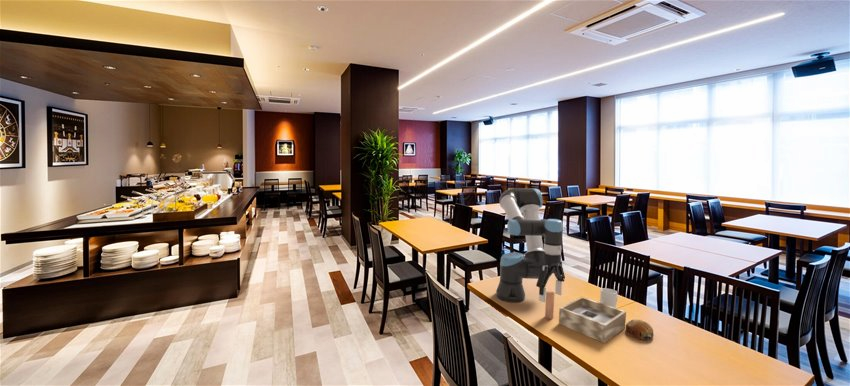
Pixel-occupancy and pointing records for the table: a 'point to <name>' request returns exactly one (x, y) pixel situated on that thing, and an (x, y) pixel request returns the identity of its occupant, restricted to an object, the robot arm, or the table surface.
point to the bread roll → (639, 330)
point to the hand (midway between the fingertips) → (550, 297)
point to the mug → (608, 297)
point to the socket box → (592, 318)
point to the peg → (549, 305)
